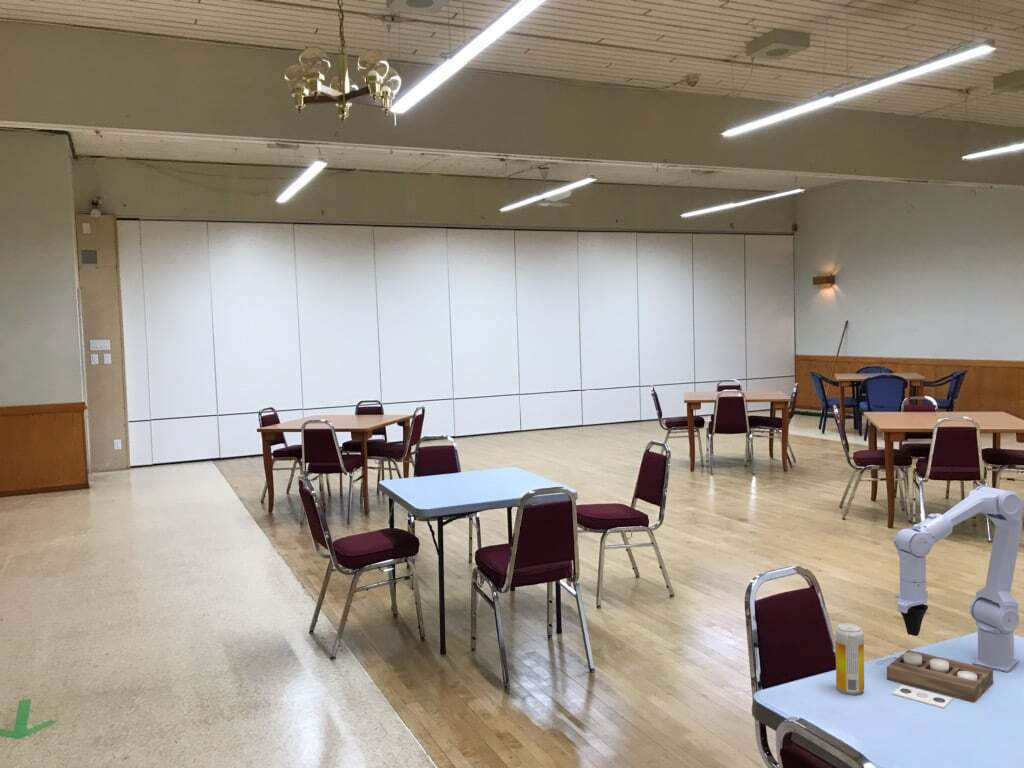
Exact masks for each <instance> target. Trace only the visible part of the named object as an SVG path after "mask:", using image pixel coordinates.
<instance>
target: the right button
mask: <svg viewBox="0 0 1024 768" xmlns="http://www.w3.org/2000/svg"><path fill="white" fill-rule="evenodd" d="M957 677H961V678H965V679H969V680H974V681H976V680H977V675H976V674H975V673H973V672H969V671H959V672H957Z"/></svg>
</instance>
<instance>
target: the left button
mask: <svg viewBox="0 0 1024 768" xmlns="http://www.w3.org/2000/svg"><path fill="white" fill-rule="evenodd" d="M903 654H904V664H909V665H913V666H917V667H921V666H922V656H921V655H920V654H917V653H912V652H908V653H905V652H903Z"/></svg>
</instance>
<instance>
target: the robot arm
mask: <svg viewBox="0 0 1024 768" xmlns="http://www.w3.org/2000/svg"><path fill="white" fill-rule="evenodd" d="M1023 511H1024V500H1023V499H1022V497H1020V495H1019V494H1018V493H1017V492H1015V491H1012V490H1005V489H999V488H994V487H991V486H988V485H983V484H982V485H979V486H976V487H975V489H972V490H970V491H969V493H968V496H967V497H965V498H964V499H962V500H961V501H960V502H958V503H957V504H955V505H954V506H953V507H951V508H950V509H949V510H947V511H946V512H945V513H942V514H941V513H937V512H936V513H930V514H928V515H927V518H925V519H924V520H922V521H920V522H919V523H915V524H913V525H912V527H911V528H903V529H900V530H899V531H898V532H897V534H896V535H895V539H893V546H894V547H895V549H896V550H897V556H898V557H899V593H895V594H894V598H895V599H898V603H897V612H899V613H900V615H901V616H902V618H903V622H904V625H905V629H906V632H907V635H908V636H914V637H918V636H919V634H920V631H921V628H922V623H923V620H924V617H925V615H926V612H927V611H928V609H929V606H928V605H927V603H928V597H929V595H928V594H929V593H928V590H927V569H926V568H927V566H926V565H927V563H926V562H927V559H926V558H927V557H926V556H928V554H930V552H931V550H932V548H933V547H934V546H935V544H937V543H938V542H939V541H941V540H943V539H945V538H946V537H948V536H949V535H951V534H952V532H953V528H954V526H956V525H959V524H961V523H962V522H964V521H966V520H968V519H970V518H972V517H974V516H976V515H978V514H983V515H986V516H987V518H989V519H990V521H991V522H992V523H993V524H994V526H995V528H994V529H995V530H994V534H993V538H992V539H993V540H992V547H991V552H990V558H989V563H988V568H987V575H986V579H985V586H984V587H983V588H981V589H979V590H978V591H977V590H976V592H975V597H974V599H973V601H972V602H971V605H970V607H969V614H970V617H971V618H972V619H973V620H974V621H975V626H977V657H976V658H975V659H974V660H972V662H971V664H972V665H975V666H980V667H984V668H988V669H993V670H997V671H1002V672H1006V673H1008V672H1010V671H1011V670H1012V668H1014V667H1015V666H1016V664H1018V663H1019V659H1018V658H1016V657H1015V635H1014V632H1015V630H1016V629H1017V627H1018V626H1019V624H1020V615H1019V603H1018V601H1017V599H1016V598H1014V596H1013V595H1012V593H1011V592H1012V586H1013V579H1014V575H1015V569H1016V564H1017V563H1016V562H1017V557H1018V552H1019V546H1020V541H1021V535H1022V529H1023Z"/></svg>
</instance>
